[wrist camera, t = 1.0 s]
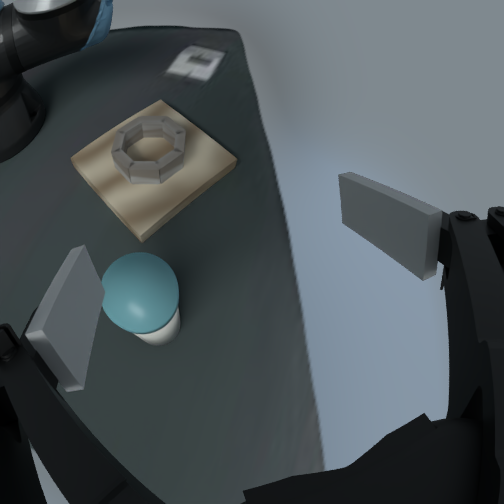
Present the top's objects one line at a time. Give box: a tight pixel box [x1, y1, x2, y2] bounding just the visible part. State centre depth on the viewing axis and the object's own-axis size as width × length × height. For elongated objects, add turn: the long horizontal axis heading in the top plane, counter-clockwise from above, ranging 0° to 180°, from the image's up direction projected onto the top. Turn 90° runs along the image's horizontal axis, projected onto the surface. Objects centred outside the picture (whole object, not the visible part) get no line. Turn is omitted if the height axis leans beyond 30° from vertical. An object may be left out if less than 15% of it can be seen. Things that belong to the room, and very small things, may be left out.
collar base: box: [71, 100, 237, 243], centre depth 37 cm, size 16×16×5 cm
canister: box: [101, 252, 181, 346], centre depth 26 cm, size 5×5×14 cm
